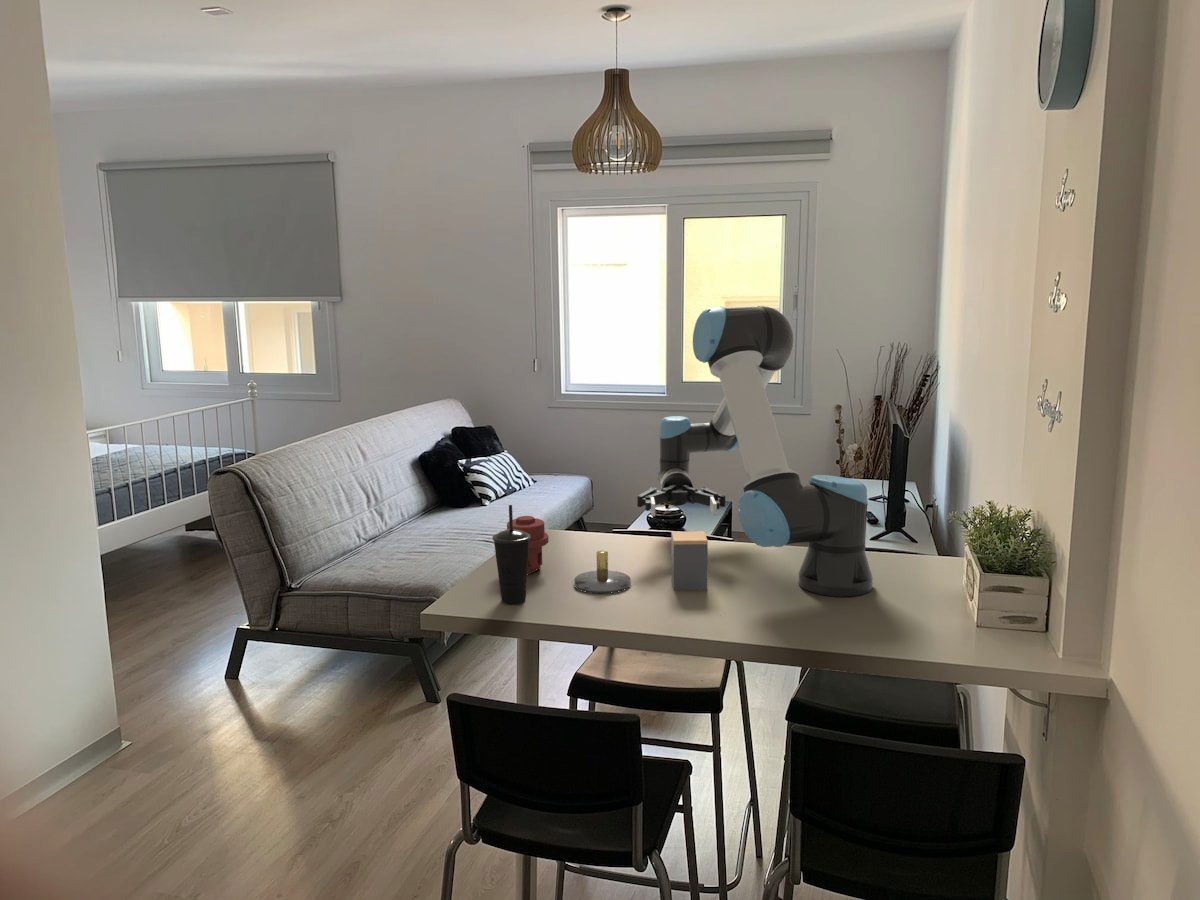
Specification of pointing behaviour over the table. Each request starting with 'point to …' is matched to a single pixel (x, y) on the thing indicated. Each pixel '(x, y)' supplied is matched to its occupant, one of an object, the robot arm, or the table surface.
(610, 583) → the post base
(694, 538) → the sleeve
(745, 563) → the table surface
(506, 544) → the drinking cup
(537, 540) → the mechanical component
